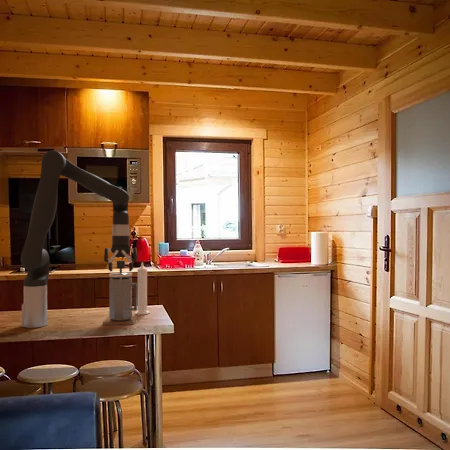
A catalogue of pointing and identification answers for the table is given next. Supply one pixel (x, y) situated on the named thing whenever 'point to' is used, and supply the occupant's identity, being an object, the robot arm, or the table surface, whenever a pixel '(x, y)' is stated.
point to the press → (121, 302)
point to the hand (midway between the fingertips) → (120, 271)
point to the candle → (142, 291)
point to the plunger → (120, 271)
